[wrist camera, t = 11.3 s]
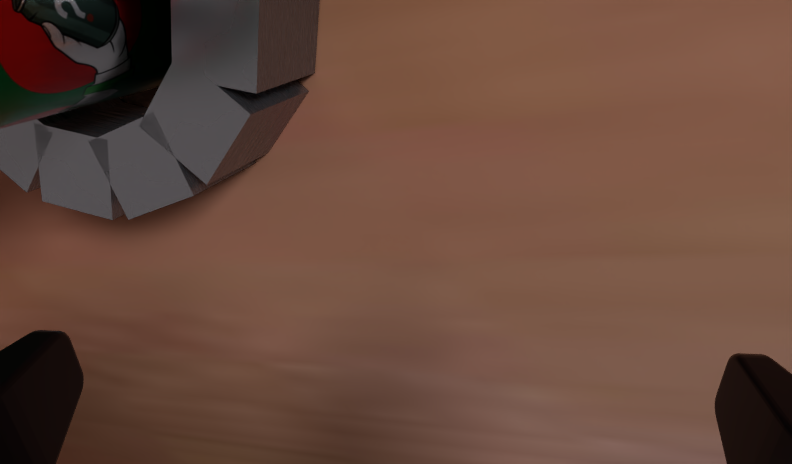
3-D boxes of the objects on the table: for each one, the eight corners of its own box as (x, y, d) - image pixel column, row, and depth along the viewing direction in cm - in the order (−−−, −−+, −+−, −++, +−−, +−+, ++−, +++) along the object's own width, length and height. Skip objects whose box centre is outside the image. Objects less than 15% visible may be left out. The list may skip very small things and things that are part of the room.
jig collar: (396, -43, 18) (347, -43, 15) (204, 248, 24) (140, 291, 21) (64, -328, 18) (-52, -385, 15) (-49, 29, 24) (-150, 40, 21)
